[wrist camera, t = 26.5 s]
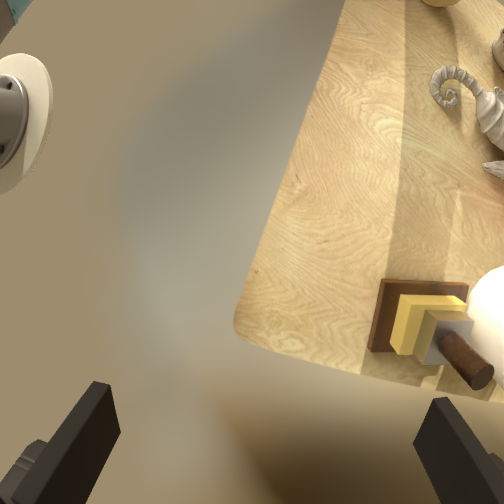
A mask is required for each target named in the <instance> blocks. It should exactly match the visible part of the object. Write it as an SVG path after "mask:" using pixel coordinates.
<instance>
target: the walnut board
mask: <svg viewBox="0 0 504 504" xmlns="http://www.w3.org/2000/svg"><path fill="white" fill-rule="evenodd" d="M468 290H469V285H467V284H465V283H459V282H435V281H413V280H393V279H381V284H380V290H379V295H378V301H377V306H376V311H375V316H374V321H373V325H372V330H371V334H370V339H369V343H368V349H369V351H370V352H396V351H395V350H394V348H393V347H392V346H391V344H390V339H391V335H392V330H393V326H394V322H395V318H396V313H397V309H398V304H399V299H400V295H401V294H402V295H440V296H455V297H457V298H458V299H460V300H461V301H463V302H464V303H465V302H466V298H467V294H468Z"/></svg>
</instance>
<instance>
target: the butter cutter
mask: <svg viewBox="0 0 504 504" xmlns="http://www.w3.org/2000/svg"><path fill="white" fill-rule="evenodd" d="M473 325H474V320H472V319H471V318H470V317H469V316H467V315H466V314H465V313H463V312H462V311H449V310H427V309H425V312H424V316H423V320H422V323H421V326H420V330H419V333H418V336H417V340H416V343H415V346H414V349H413V352H412V353H413V354H414V355H415V356H416V358H417V359H418V360H419V361H420V363H421V364H422V365H423V366H427V365H448V364H451V365H452V367H453V368H454V369H455V370H456V371H457V372H458V373H459V374H460V376H461V377H462V378H463V379H464V380H465V381H466V382H467V384H468V385H469V386H470V387H471V388H472V389H473V390H480V389H482V388H484V387H485V386H486V385H487V384H488V383H489V382H490V381H491V379H492V377H493V375H494V366H493V365H492V364H491V363H490V362H489V361H488V360H487V359H486V358H484V357H483V356H482V355H481V354H480V353H479V352H478V351H477V350H476V349H475V348H474V347H473V346H471V345H470V344H469V343H468V339H469V336H470V334H471V331H472V328H473Z"/></svg>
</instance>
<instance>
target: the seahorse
mask: <svg viewBox="0 0 504 504" xmlns="http://www.w3.org/2000/svg"><path fill="white" fill-rule="evenodd" d="M448 79H456V80H458V81H459V82H460V83H462V84H463V85H465V87H466V88H468V89H469V90H470V91H471V92H472V93H473V96H474V97H475V99H476V117H477V119H478V120H479V123H480V126H481V128H480V130H481V131H482V133H484V134H486V135H487V137H488V138H489V140H490V141H491V143H493V144H495V145H496V146H497V147H498V148H500V149H501V150H503V152H504V91H503V90H502V89H500V88H499V87H494V93H493V92H487V91H486V90H485V89H484V88H483V87H482V85H480V84H479V83H478V82H477V81H476V80H475V79H474V77H473V76H470V75H469V74H468V73H467V72H466V71H464V70H462V69H460V68H457V67H456V66H442V67H441V68H439V69H438V70H436V72H434V75H433V76H432V78H431V93H432V96H433V97H434V99H435V100H436V101H437V103H438V104H440V105H441V106H443V107H444V108H453V107H455V106H456V105H457V103H459V101H458V96H457V93H456V92H455V91H454V90H452V89H449V90H447V91H446V97H448V94H449V93H452V95H453V98H452V100H451V101H449V102H447V101H445V100H444V99H443V98H442V96H441V94H440V87H441V85H442V84H443V83H444V81H446V80H448ZM482 167H483V169H484V170H485V171H487V172H489V173H491V174H493V175H495V176H497V177H499V178H501V179H502V180H504V160H502V161H493V162H484V163H483V164H482Z"/></svg>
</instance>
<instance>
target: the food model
mask: <svg viewBox="0 0 504 504" xmlns="http://www.w3.org/2000/svg"><path fill="white" fill-rule="evenodd" d="M422 1H423V2H425V3H426V4H428V5H430V6H434V7H443V6H449V5H454V4H456V3H457V2H459V1H460V0H422Z"/></svg>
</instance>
